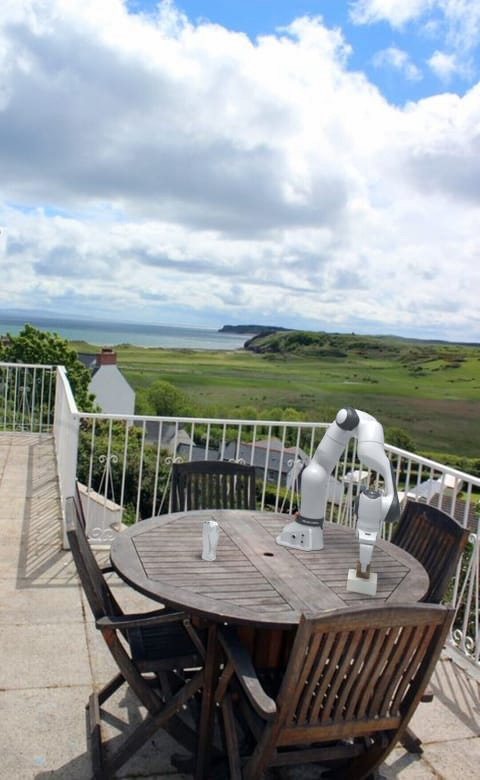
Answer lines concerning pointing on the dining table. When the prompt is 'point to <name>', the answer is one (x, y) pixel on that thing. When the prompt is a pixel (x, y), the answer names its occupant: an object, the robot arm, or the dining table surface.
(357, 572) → the walnut cube
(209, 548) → the white cylinder
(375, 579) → the base block
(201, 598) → the dining table surface
